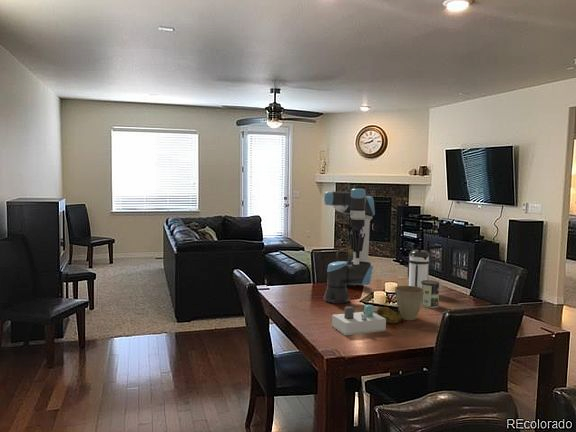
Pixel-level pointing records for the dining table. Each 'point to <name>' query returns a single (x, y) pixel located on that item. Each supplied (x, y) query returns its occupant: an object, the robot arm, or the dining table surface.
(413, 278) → the coffee press
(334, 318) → the panel
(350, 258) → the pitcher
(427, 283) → the coffee can
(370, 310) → the knob teal
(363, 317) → the trim pot
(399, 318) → the potato
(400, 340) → the dining table surface
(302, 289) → the dining table surface
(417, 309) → the plant pot
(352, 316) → the knob charcoal
